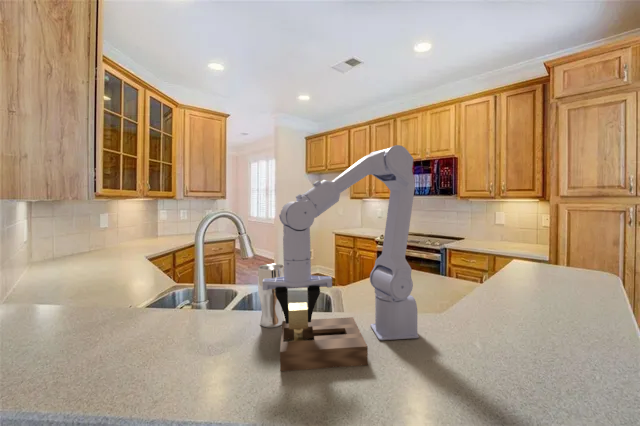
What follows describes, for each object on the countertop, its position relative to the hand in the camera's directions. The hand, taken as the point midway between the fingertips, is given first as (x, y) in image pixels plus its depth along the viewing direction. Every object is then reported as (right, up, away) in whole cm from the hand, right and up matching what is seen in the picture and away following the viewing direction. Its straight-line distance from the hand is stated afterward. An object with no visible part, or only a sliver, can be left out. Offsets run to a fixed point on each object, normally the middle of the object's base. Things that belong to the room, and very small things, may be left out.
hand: (298, 321), depth 64 cm
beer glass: (-8, -6, +15) cm, 18 cm away
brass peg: (0, -6, +1) cm, 6 cm away
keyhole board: (+5, -7, +1) cm, 8 cm away
